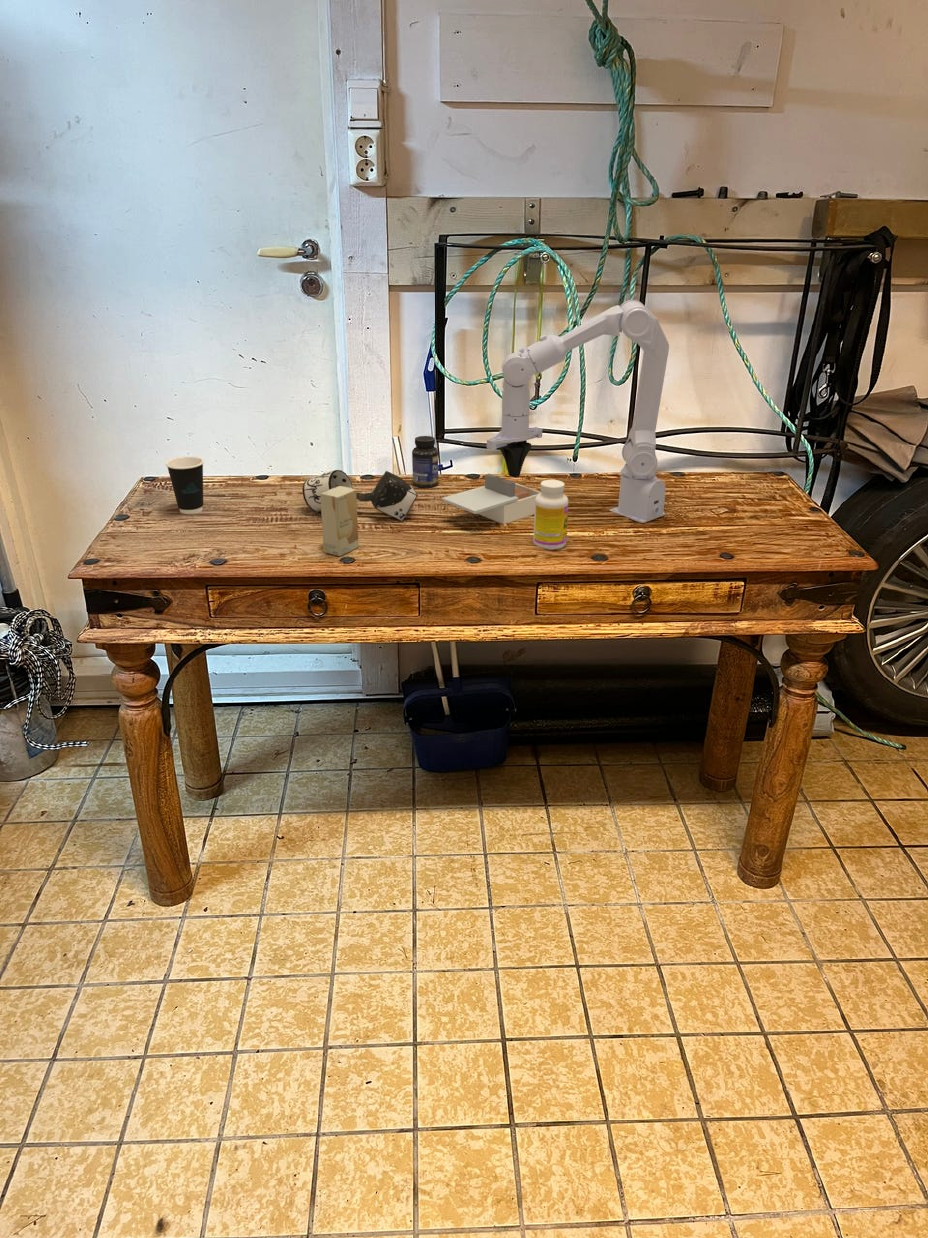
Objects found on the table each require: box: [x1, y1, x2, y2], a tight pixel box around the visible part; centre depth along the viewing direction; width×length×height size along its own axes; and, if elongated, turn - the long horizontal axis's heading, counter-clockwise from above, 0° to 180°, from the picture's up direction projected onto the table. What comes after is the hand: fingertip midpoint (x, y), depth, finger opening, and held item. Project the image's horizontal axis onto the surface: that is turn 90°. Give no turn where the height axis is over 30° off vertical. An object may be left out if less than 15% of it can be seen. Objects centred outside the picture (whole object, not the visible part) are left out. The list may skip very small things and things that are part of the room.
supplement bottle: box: [532, 479, 569, 551], centre depth 187 cm, size 7×7×13 cm
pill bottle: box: [411, 435, 440, 489], centre depth 221 cm, size 6×6×11 cm
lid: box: [441, 473, 519, 515], centre depth 198 cm, size 12×10×4 cm
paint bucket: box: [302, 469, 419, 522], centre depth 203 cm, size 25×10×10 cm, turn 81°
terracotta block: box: [515, 488, 528, 500], centre depth 206 cm, size 4×4×4 cm
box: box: [477, 482, 541, 525], centre depth 205 cm, size 12×10×5 cm
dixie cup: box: [165, 456, 205, 515], centre depth 204 cm, size 8×8×11 cm
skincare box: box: [320, 486, 359, 557], centre depth 185 cm, size 6×4×12 cm
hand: (514, 475), depth 203 cm, fingers closed
